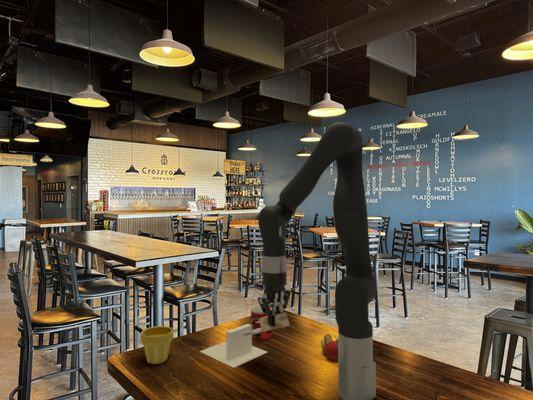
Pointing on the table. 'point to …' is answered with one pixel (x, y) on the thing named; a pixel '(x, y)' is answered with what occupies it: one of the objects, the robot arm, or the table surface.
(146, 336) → the plant pot
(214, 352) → the mat
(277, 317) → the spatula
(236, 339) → the tile
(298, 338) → the table surface
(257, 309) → the canned food
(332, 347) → the kendama
